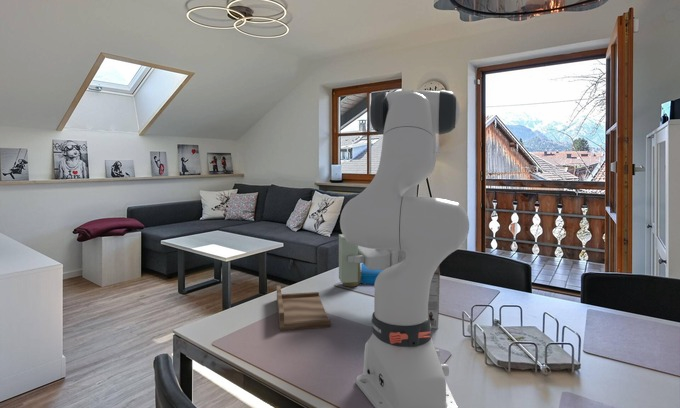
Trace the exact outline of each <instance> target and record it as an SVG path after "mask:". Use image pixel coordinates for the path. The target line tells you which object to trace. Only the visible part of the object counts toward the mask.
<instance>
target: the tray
mask: <svg viewBox="0 0 680 408" xmlns="http://www.w3.org/2000/svg"><path fill="white" fill-rule="evenodd" d="M276 304H277V305H276V307H277V317H278V325H279V326H278V327H279V331H280V332H283V331H294V330H295V331H297V330H308V329H320V328H321V329H322V328H323V329H324V328H331V319H329V318H328V315H327V313H326V310H325V308H324V305H323V303H322V300H321V298H320V292H319V291H314V292H313V291H312V292H297V293H295V292H294V293H293V292H292V293H282V288H281V284H276Z"/></svg>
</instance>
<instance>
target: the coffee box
mask: <svg viewBox="0 0 680 408" xmlns="http://www.w3.org/2000/svg"><path fill="white" fill-rule="evenodd" d="M440 281H441V272H440V265H439V266H438V267H437V269H436V270H435V272H434V275H433V277H432V280H431V284H430V291H429V300H428V316H429V318H430V323H431V329H439V314H440V313H439V312H440V310H439V309H440Z"/></svg>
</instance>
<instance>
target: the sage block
mask: <svg viewBox="0 0 680 408" xmlns="http://www.w3.org/2000/svg"><path fill="white" fill-rule="evenodd" d="M348 255H353V256H358V246H357V245H354V244H350V243H349V242H348V241H347V240H346V239H345V237H344V236H343V234H338V280H339V281H340V282H341V284H343V283H349V282H358V263H355V262H348V261H347V256H348Z"/></svg>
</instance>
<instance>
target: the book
mask: <svg viewBox="0 0 680 408" xmlns="http://www.w3.org/2000/svg"><path fill="white" fill-rule="evenodd" d="M360 266H361V279H360V284H361V283H367V284H366V285H375V280H376V278H377V276H378V275H379V273H380V272H382V271H383V270H371V269H368V268H367V267H366V266H365V265H364V264H363V263H360Z"/></svg>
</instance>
